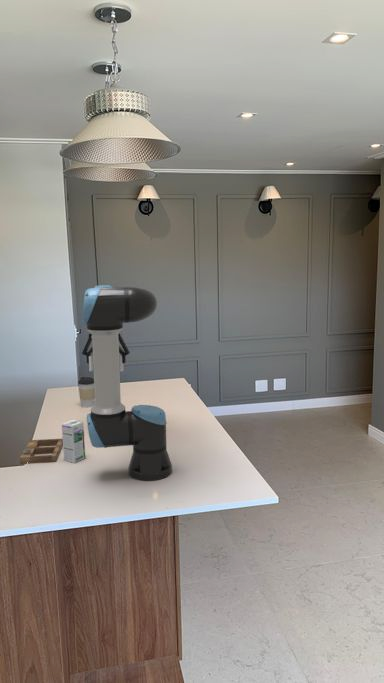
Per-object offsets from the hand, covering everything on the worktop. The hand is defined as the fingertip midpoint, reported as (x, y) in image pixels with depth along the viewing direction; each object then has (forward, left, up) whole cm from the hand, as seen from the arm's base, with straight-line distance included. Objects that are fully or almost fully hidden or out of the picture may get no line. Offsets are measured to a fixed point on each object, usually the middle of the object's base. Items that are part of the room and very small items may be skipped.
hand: (106, 370), depth 212 cm
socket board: (-22, +24, -28) cm, 43 cm away
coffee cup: (+46, +13, -28) cm, 55 cm away
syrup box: (-30, +11, -28) cm, 42 cm away
